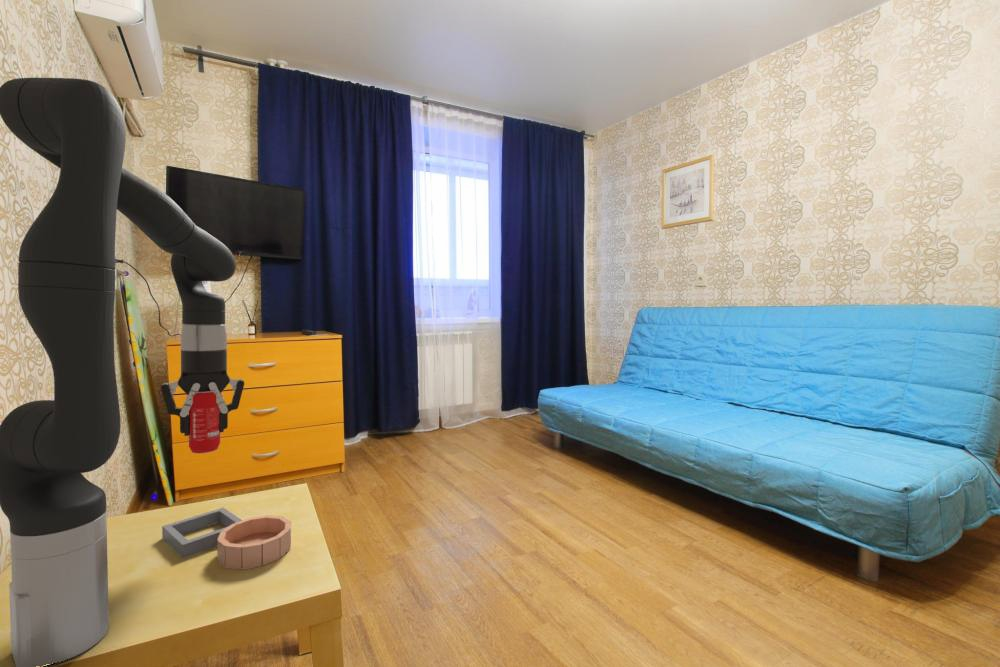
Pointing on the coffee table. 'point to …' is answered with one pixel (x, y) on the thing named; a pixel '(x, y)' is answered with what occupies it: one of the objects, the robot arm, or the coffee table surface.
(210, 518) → the rectangular frame
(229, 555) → the bowl
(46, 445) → the robot arm
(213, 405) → the beverage can
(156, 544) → the coffee table surface
